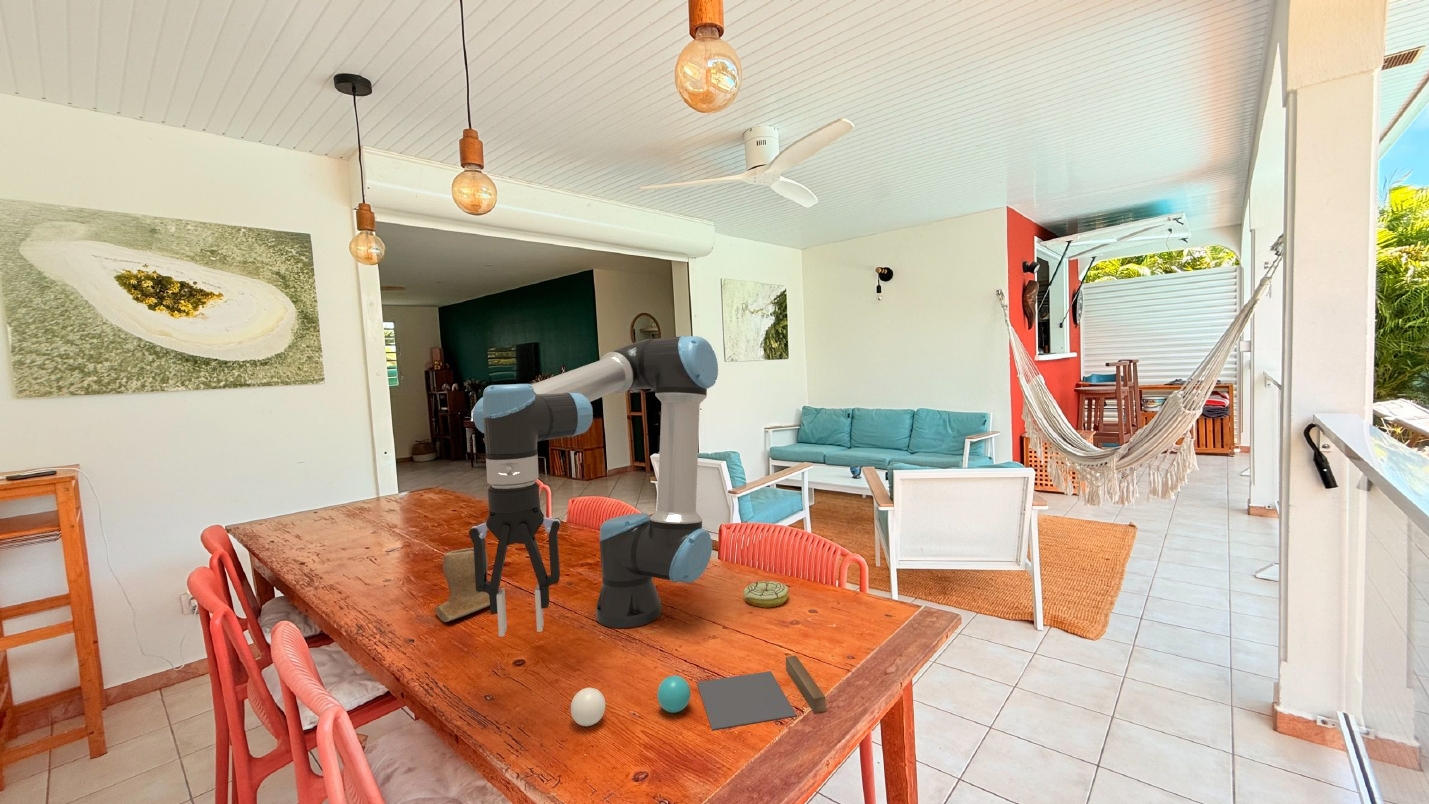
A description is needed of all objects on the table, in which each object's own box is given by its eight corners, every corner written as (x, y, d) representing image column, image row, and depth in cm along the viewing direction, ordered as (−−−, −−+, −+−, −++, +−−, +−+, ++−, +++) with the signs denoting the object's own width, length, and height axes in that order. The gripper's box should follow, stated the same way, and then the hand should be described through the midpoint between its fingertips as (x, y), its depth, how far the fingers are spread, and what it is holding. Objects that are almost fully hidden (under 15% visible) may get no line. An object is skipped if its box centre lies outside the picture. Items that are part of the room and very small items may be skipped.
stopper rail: (814, 713, 92) (813, 698, 92) (786, 669, 106) (785, 656, 106) (825, 711, 93) (825, 696, 93) (796, 668, 106) (795, 655, 106)
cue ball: (564, 729, 90) (562, 696, 90) (585, 710, 96) (583, 678, 95) (593, 737, 88) (591, 702, 88) (612, 716, 93) (611, 684, 93)
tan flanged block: (478, 595, 148) (475, 539, 148) (506, 604, 142) (503, 545, 141) (421, 617, 136) (417, 555, 135) (449, 628, 129) (445, 563, 128)
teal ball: (652, 715, 93) (650, 683, 93) (667, 697, 98) (666, 666, 98) (682, 722, 91) (680, 689, 91) (696, 703, 96) (695, 672, 96)
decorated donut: (750, 591, 145) (750, 576, 145) (792, 595, 142) (791, 580, 142) (739, 607, 135) (738, 591, 135) (783, 612, 132) (783, 596, 132)
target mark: (712, 730, 89) (712, 729, 89) (696, 683, 103) (696, 682, 103) (796, 716, 92) (796, 715, 92) (770, 672, 105) (770, 671, 105)
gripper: (444, 493, 82) (454, 649, 84) (572, 483, 86) (579, 633, 87) (457, 483, 90) (466, 627, 91) (574, 475, 93) (581, 613, 95)
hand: (521, 629), depth 89 cm, fingers open, 5 cm apart
